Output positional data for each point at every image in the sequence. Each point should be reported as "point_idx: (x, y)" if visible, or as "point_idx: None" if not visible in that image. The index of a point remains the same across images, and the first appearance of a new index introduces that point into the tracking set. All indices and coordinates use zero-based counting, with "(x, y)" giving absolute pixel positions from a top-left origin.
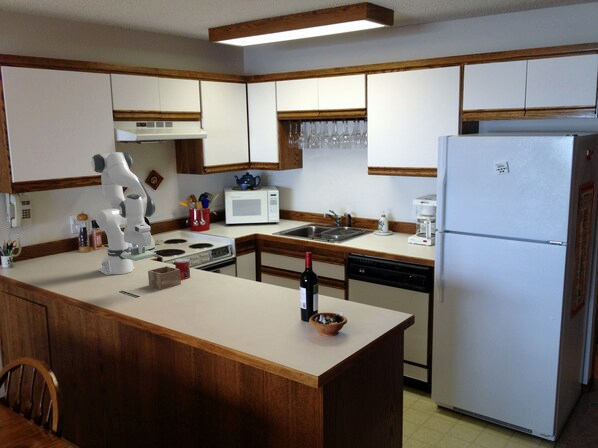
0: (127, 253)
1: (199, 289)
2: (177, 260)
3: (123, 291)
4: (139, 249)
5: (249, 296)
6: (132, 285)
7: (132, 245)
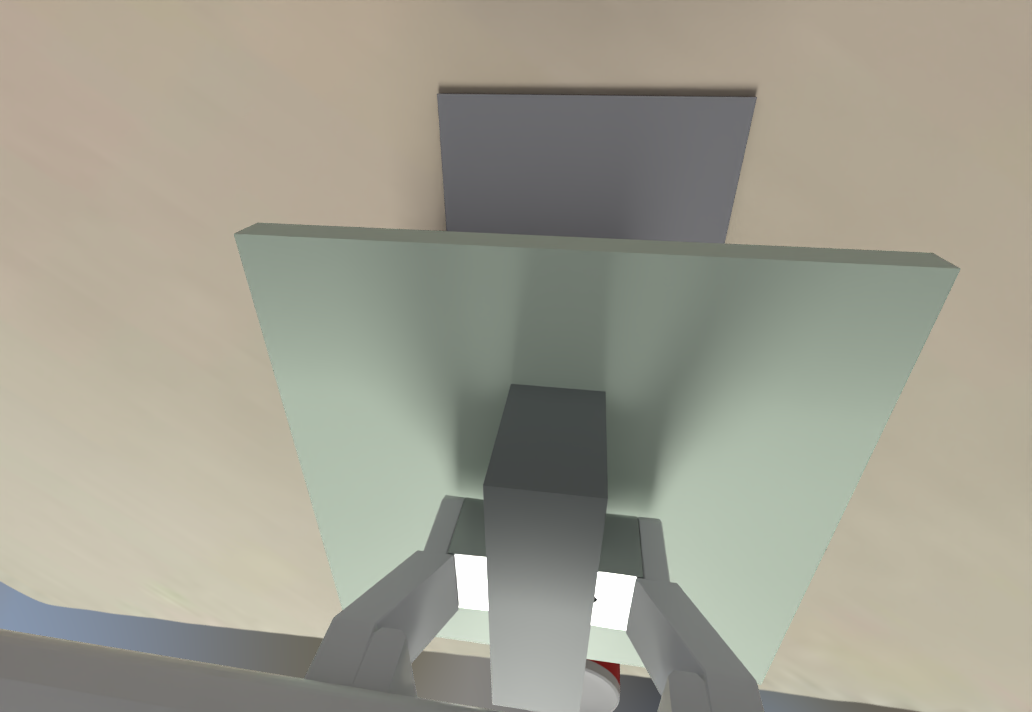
0: (813, 428)
1: (299, 467)
2: (597, 683)
3: (707, 126)
4: (404, 567)
5: (40, 493)
6: None
7: (727, 680)
